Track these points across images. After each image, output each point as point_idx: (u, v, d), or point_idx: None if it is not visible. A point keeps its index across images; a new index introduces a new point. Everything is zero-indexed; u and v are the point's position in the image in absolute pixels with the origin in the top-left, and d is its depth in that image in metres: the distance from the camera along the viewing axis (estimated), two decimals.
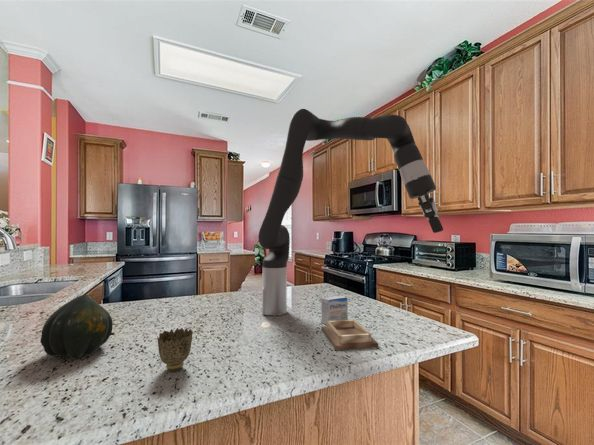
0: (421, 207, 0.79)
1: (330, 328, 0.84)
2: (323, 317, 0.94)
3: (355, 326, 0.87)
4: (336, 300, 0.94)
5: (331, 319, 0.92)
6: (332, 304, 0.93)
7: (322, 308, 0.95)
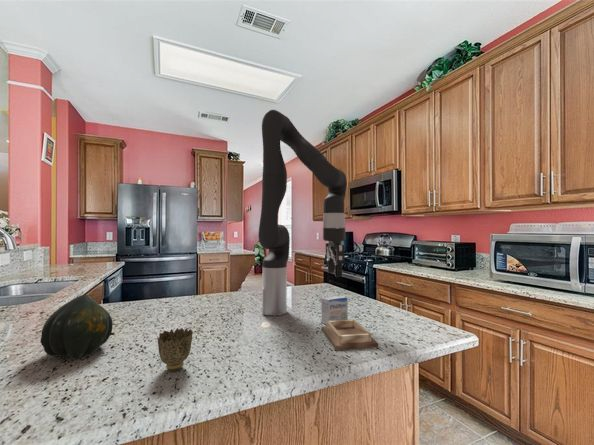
0: (332, 252, 0.93)
1: (330, 328, 0.84)
2: (323, 317, 0.94)
3: (355, 326, 0.87)
4: (336, 300, 0.94)
5: (331, 319, 0.92)
6: (332, 304, 0.93)
7: (322, 308, 0.95)
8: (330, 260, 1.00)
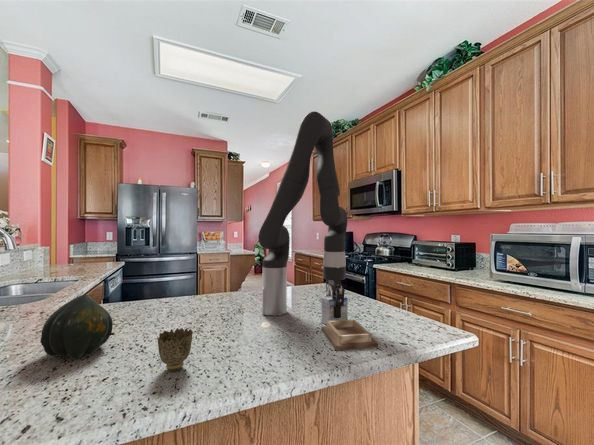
0: (332, 292, 0.93)
1: (330, 328, 0.84)
2: (323, 317, 0.94)
3: (355, 326, 0.87)
4: None
5: (331, 319, 0.92)
6: (332, 304, 0.93)
7: (322, 308, 0.95)
8: None
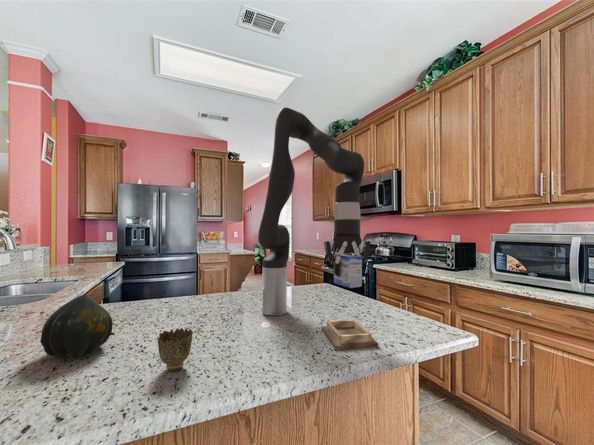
0: None
1: (330, 328, 0.84)
2: None
3: (355, 326, 0.87)
4: None
5: (335, 276, 0.85)
6: None
7: None
8: None
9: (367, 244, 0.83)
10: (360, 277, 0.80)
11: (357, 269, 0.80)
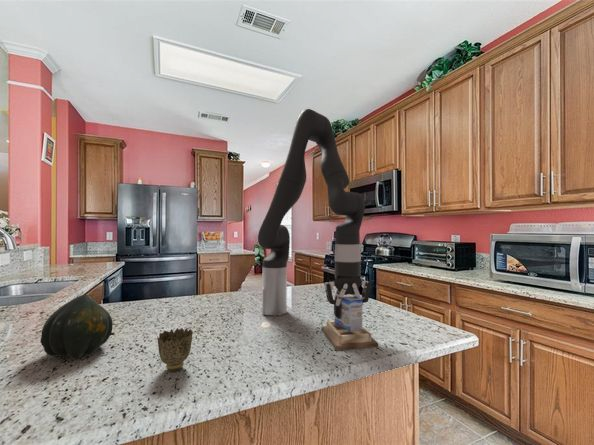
0: (337, 288, 0.84)
1: (330, 328, 0.84)
2: None
3: None
4: None
5: None
6: None
7: None
8: None
9: (368, 285, 0.83)
10: (361, 320, 0.80)
11: (358, 312, 0.80)
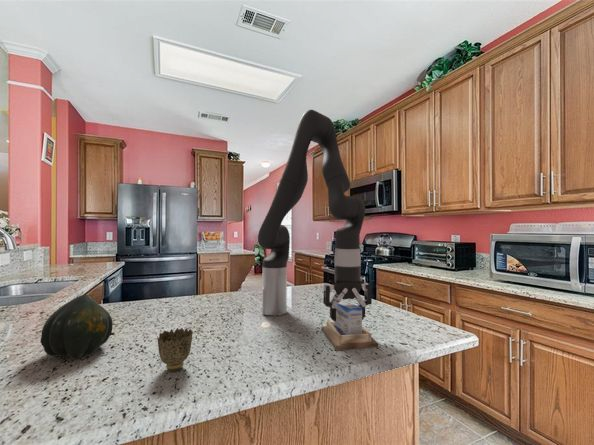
0: None
1: (330, 328, 0.84)
2: None
3: None
4: (340, 306, 0.83)
5: (336, 324, 0.84)
6: (337, 308, 0.84)
7: None
8: (360, 303, 0.84)
9: (368, 288, 0.83)
10: (360, 328, 0.80)
11: (357, 320, 0.80)
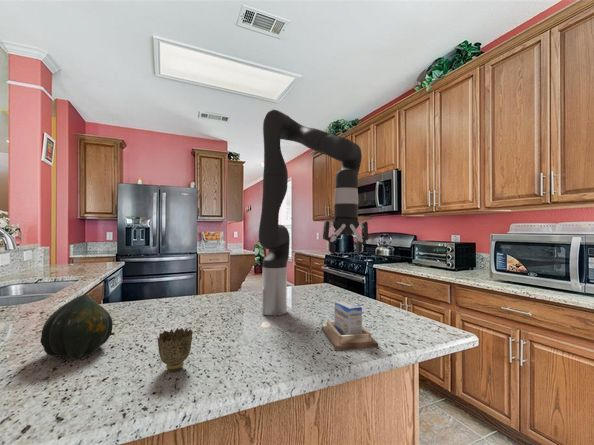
0: (335, 229, 0.92)
1: (330, 328, 0.84)
2: None
3: None
4: (340, 306, 0.83)
5: (336, 324, 0.84)
6: (337, 308, 0.84)
7: None
8: (357, 240, 0.91)
9: (365, 225, 0.90)
10: (360, 328, 0.80)
11: (357, 320, 0.80)
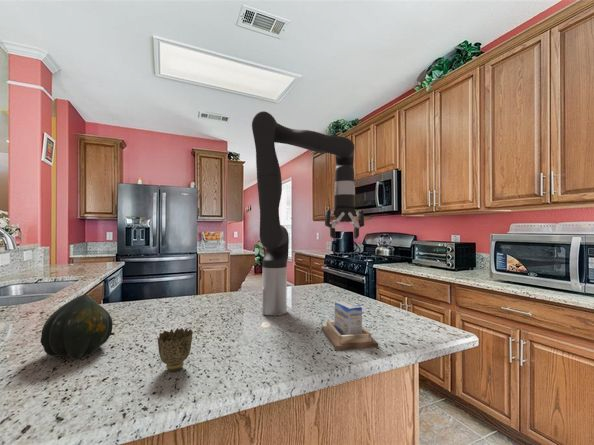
0: None
1: (330, 328, 0.84)
2: None
3: None
4: (340, 306, 0.83)
5: (336, 324, 0.84)
6: (337, 308, 0.84)
7: None
8: (355, 226, 1.05)
9: (361, 213, 1.04)
10: (360, 328, 0.80)
11: (357, 320, 0.80)
